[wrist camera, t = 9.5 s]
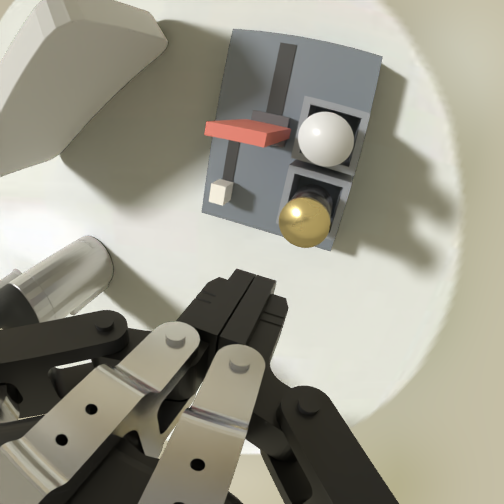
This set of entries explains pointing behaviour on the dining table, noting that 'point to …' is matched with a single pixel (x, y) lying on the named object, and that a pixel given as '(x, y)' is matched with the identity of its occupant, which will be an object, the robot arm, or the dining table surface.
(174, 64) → the dining table surface
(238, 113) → the console
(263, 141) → the red lever
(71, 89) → the rounded white slab
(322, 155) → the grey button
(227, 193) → the slider knob
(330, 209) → the brass button
